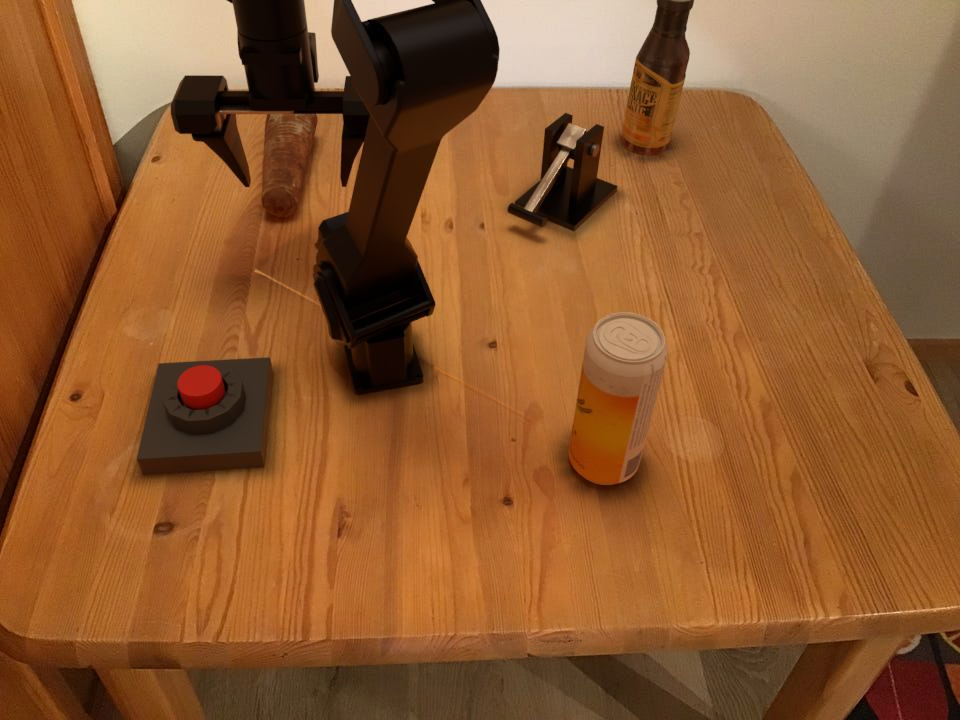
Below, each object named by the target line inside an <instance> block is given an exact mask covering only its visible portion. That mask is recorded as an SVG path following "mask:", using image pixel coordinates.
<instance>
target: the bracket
mask: <svg viewBox="0 0 960 720" xmlns="http://www.w3.org/2000/svg"><path fill="white" fill-rule="evenodd" d="M573 118H574V115H573V114H571V113H568V112H565V113H563V114H562V115H560V116H559V117H558V118H557V119H555V120H554V121H553V122H552V123H550V124H549V125H547V127H545V128H544V137H543V148H542V158H541V159H542V160H541V167H540V169H541V170H540V171H541V172H540V180H539V181H538V182H536V183H535V184H534V185H533V186H532V187H530V188H529V189H528V190H526V192H524V193H523V194H522V195H521V196H519V197H518V198H517V199H516V200H515V201H514V204H517V205H519V206H521V207H525V206H526V204H527V203H528V201H529V200H530V198H531V196H532V195H533V193H534V192H535V190H536V188H537V187H538V185H539V184H540V182H541V180H542V179H543V177H544V176H545V174H546V173H547V171H548V169H549V168H550V166H551V165H552V163H553V161H554V160H555V158H556V157H557V155H558V153H559V149H558V146H557V141H558V140H559V138H560V136H561V135H562V133H563V132H564V130H565V129H566V127H567V125H568V124H569V123H571V124H573ZM604 130H605V126H603V125H600V124H599V123H596V124H595V125H593V126H592V127H591V128H590V129H588V130H586V131H587V132H586V133H585V134H584V135H583V136H581V137H580V138H579V139H578V140H577V141H576V148H575V157H574V160H573V167H570V166H568V162H569V161H568V162H567V164H566V166H565V167H564V169H563V170H562V172H561V174H560V175H559V177H558V178H557V180H556V182H555V183H554V185H553V186H552V188H551V190H550V191H549V193H548V194H547V196H546V198H545V199H544V201H543V202H542V204H541V206H540V207H539V209H538V210H537V212H536V213H538V214H540V215H543V216H545V217H547V222H548V221H549V222H551V223H553V224H555V225H558V226H560V227H562V228H565V229H567V230H570V231H572V232H575V231H576V230H577V229H578V228H579V227H580V226H581V225H583V224H584V223H585V222H586V221H587V220H588V219H589V218H590V217H591V216H592V215H593V214H594V213H595V212H596V211H597V210H598V209H600V208H601V207H602V205H604V204H605V203H606V202H607V201H608V200H609V199H610V198H611V197H612V196H613V195H614V194H615V193H616V192H618V185H616V184H614V183H611V182H608V181H605V180H604V179H601V178H598V174H599V173H598V172H599V165H600V159H601V152H602V144H603V140H604V139H603V138H604Z"/></svg>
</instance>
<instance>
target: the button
mask: <svg viewBox="0 0 960 720" xmlns="http://www.w3.org/2000/svg"><path fill="white" fill-rule="evenodd" d="M177 386H178V389H179V392H180V395H181V398H182V401H183V403H184V404H185V405H186V406H187V407H189V408H192V409H197V410H201V409H207V408H210V407H213V406H215V405H216V404H218V403H219V402H220V401H221V400H222V398H223V397H224V394H225V387H224V384H223V380H222V377H221V374H220V372H219V371H218V370H217V369H216V368H214V367H212V366H208V365H199V366H195V367H192V368H190V369H188V370H186V371H185V372H184V373H182V374H181V376H180V377H179V379H178V383H177Z"/></svg>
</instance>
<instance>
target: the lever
mask: <svg viewBox="0 0 960 720" xmlns="http://www.w3.org/2000/svg"><path fill="white" fill-rule="evenodd" d="M587 131H588V130H587V129H586V128H584V127H582V126H579V125H576V124H574V123H572V124H571V123H569V124H568V125H567V127H566V129H565V130H564V132H563V133H562V135H561V136H560V138H559V140H558V141H557V146H558V149H559V153H558V155H557V157H556V158H555V160H554V161H553V163H552V165H551V166H550V168H549V169H548V171H547V173H546V174H545V176H544V177H543V179H542V180H541V179H540V180H541V182H540V184H539V185H538V187H537V188H536V190H535V192H534V193H533V195H532V196H531V198H530V200H529V201H528V203H527V204H526V206H525V207H521V206H519V205H517V204H515V202H511V203H509V204H508V207H507V209H506V210H507V213H508V214H510V215H512V216H514V217H517V218H519V219H521V220H524V221H526V222H529V223H530V224H533V225H534V226H537V227H540V228H545V226H546V225H547V223H548V220H547V217H545V216H543V215H540V214H538V213H536V212H537V210H538V209H539V207H540V206H541V204H542V202H543V201H544V199H545V198H546V196H547V194H548V193H549V191H550V190H551V188H552V186H553V185H554V183H555V182H556V180H557V178H558V177H559V175H560V174H561V172H562V170H563V169H564V167H565V166H566V164H567V165H568V163H567V162H569V161H570V160H573V161H574V157H575V148H576V141H577V140H578V139H579V138H580V137H581V136H583V135H584V134H585V133H586V132H587Z"/></svg>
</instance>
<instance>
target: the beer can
mask: <svg viewBox="0 0 960 720" xmlns="http://www.w3.org/2000/svg"><path fill="white" fill-rule="evenodd" d="M668 356H669V350H668V344H667V342H666V337H665V333H664V330H663V329H662V328H661V326H659V324H657V323H656V322H655V321H654V320H652V319H651V318H649V317H647V316H644V315H642V314H639V313H636V312H628V311H620V312H619V311H618V312H613V313H609V314H607V315H605V316H603V317H601V318H600V319H599V320H598V321H596V323H595V324H594V327H593V328H592V329H591V330H590V331H589V333H588V334H587V336H586V339H585V345H584V353H583V359H582V364H581V371H580V377H579V383H578V390H577V395H576V402H575V408H574V415H573V419H572V427H571V433H570V440H569V445H568V459H569V462H570V464H571V466H572V468H573V469H574V470H575V471H576V472H577V473H578V474H579V475H580V476H581V477H583V478H584V479H585V480H587V481H589V482H591V483H593V484H596V485H601V486H613V485H617V484H621V483H624V482H626V481H627V480H629V479H632V477H633V476H634V475H635V474H636V472H637V471H638V469H639V467H640V464H641V459H642V456H643V452H644V448H645V444H646V441H647V436H648V434H649V430H650V426H651V422H652V417H653V414H654V411H655V406H656V402H657V398H658V393H659V390H660V386H661V383H662V379H663V375H664V371H665V368H666V363H667V360H668Z"/></svg>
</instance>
